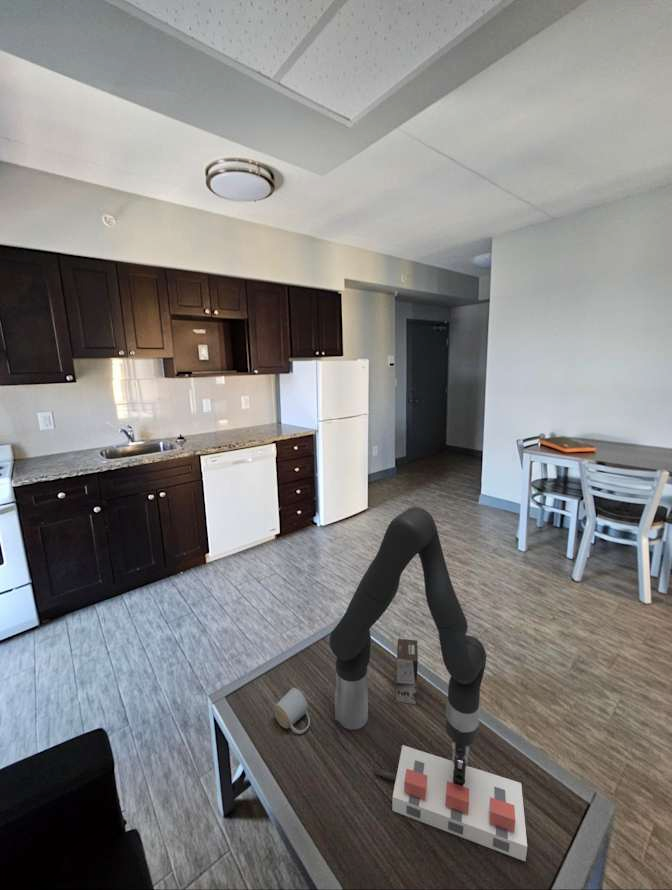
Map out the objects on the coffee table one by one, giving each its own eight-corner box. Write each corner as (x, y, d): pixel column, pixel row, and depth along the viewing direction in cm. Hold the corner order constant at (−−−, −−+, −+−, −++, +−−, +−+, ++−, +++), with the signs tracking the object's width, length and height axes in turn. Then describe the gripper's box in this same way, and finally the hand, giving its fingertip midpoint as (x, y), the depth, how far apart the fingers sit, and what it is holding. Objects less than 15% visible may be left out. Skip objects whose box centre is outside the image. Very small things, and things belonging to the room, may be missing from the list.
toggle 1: (404, 792, 92) (404, 781, 91) (406, 779, 94) (406, 768, 94) (425, 799, 90) (425, 788, 89) (426, 786, 93) (427, 775, 92)
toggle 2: (445, 805, 89) (445, 794, 88) (446, 792, 91) (446, 780, 91) (468, 814, 87) (469, 802, 86) (468, 799, 90) (469, 788, 89)
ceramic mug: (272, 720, 116) (271, 700, 114) (292, 701, 122) (291, 682, 120) (297, 743, 109) (295, 722, 107) (316, 722, 115) (316, 701, 113)
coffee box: (416, 704, 120) (417, 661, 116) (395, 701, 121) (396, 658, 117) (416, 680, 128) (417, 639, 124) (397, 677, 130) (397, 637, 126)
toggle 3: (489, 823, 85) (490, 811, 84) (489, 808, 88) (490, 796, 87) (514, 832, 84) (515, 820, 83) (512, 816, 86) (514, 805, 85)
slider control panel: (368, 802, 94) (367, 787, 93) (380, 750, 106) (380, 737, 105) (525, 862, 82) (527, 846, 81) (519, 797, 94) (521, 782, 93)
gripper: (448, 687, 100) (445, 736, 103) (443, 738, 87) (441, 792, 90) (478, 695, 97) (475, 745, 101) (479, 749, 84) (474, 804, 88)
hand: (459, 767), depth 96 cm, fingers open, 8 cm apart
